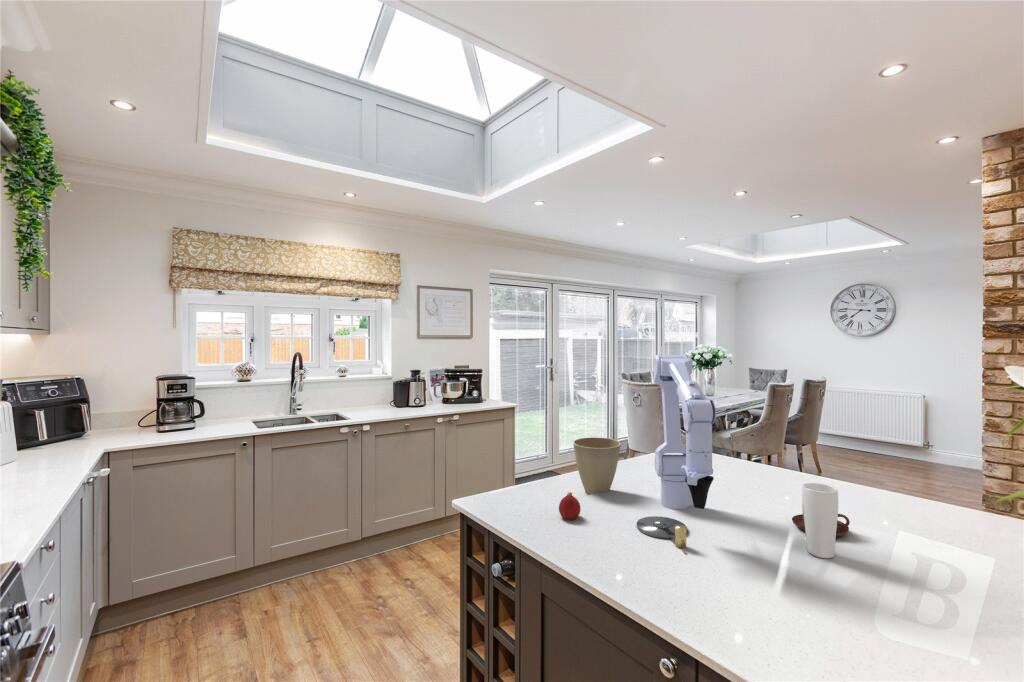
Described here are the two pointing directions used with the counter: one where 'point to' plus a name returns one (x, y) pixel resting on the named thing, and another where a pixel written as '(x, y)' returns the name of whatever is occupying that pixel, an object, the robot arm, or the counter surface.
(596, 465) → the plant pot
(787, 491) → the counter surface
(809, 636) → the counter surface
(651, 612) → the counter surface
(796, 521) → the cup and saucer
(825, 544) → the drinking glass
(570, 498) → the onion
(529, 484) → the counter surface
